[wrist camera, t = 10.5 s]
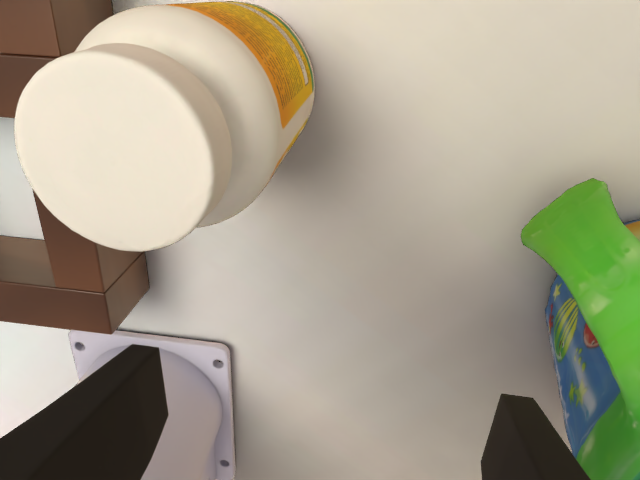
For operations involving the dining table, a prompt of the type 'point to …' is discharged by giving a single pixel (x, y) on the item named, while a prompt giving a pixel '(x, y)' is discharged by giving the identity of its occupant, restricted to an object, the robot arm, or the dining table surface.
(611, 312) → the snack cup
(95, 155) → the supplement bottle
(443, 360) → the dining table surface
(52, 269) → the holder
